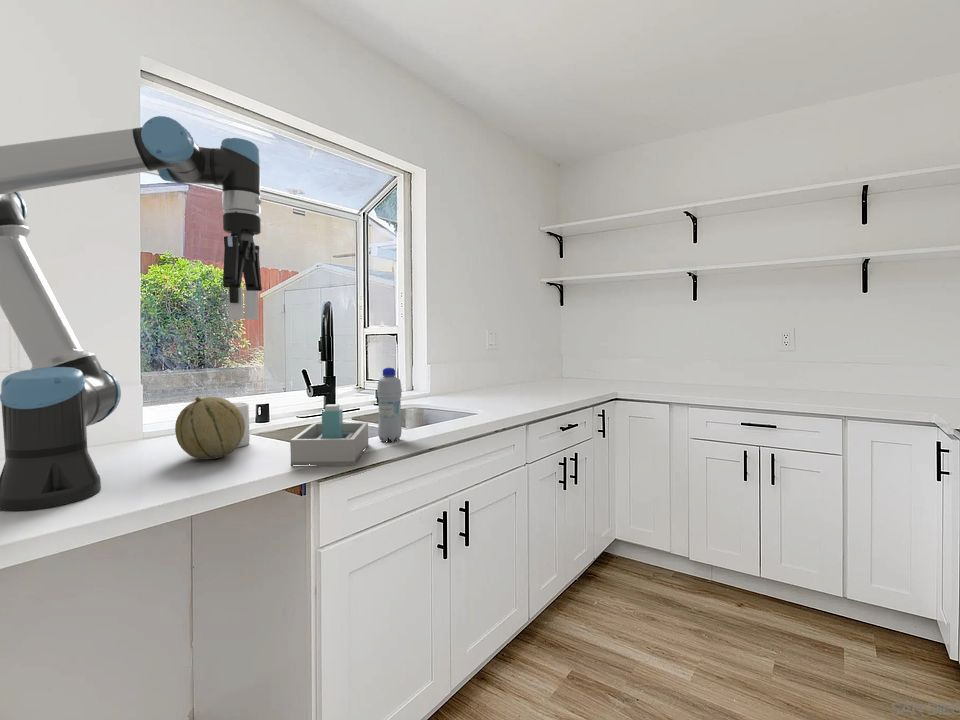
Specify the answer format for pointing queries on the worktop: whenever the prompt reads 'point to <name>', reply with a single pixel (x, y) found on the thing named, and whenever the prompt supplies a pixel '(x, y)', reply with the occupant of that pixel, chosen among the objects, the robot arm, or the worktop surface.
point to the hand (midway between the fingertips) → (244, 319)
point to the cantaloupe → (209, 428)
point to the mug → (245, 412)
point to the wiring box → (329, 446)
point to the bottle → (389, 406)
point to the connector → (332, 422)
